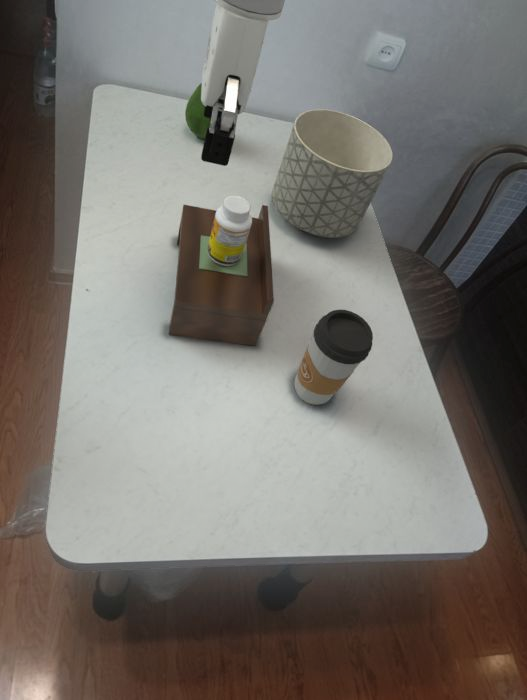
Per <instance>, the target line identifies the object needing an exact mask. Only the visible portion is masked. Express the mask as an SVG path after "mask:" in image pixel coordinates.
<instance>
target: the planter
mask: <svg viewBox="0 0 527 700" xmlns="http://www.w3.org/2000/svg"><path fill="white" fill-rule="evenodd" d="M393 154H394V153H393V150H392V147H391V145H390V143H389V142H388V140H387V139H386V138H385V136H384V135H383V134H382V133H380V132H379V131H378V130H377V129H376V128H375V127H373V126H372V125H370V123H369V124H368V123H367V122H365V121H364V120H361V119H359V118H357V117H356V116H353V115H351V114H347V113H345V112H342V111H337V110H333V109H325V108H320V109H319V108H317V109H316V108H315V109H309V110H306V111H304V112H301V113H300V114H299V115H298V116H297V117H296V118H295V120H294V123H293V126H292V128H291V132H290V134H289V138H288V141H287V144H286V147H285V150H284V152H283V156H282V158H281V159H282V160H281V162H280V165H279V167H278V172H277V174H276V177H275V180H274V184H273V187H272V190H271V199H272V203H273V205H274V207H275V209H276V211H277V212H278V213H279V215H281V217H282V218H283V219H284V220H286V221H287V222H288V223H290V224H291V225H292V226H294V227H295V228H298V230H301V231H303V232H305V233H308V234H310V235H314V236H317V237H322V238H343V237H346V236H349V235H351V234H353V233H354V232H355V231H356V230H357V229H358V228H359V227H360V224H361V223H362V221H363V219H364V217H365V214H366V213H367V211H368V209H369V207H370V205H371V203H372V201H373V198H375V195H376V193H377V191H378V189H379V187H380V185H381V184H382V181H383V180H384V178H385V175H386V173H387V172H388V170H389V168H390V166H391V164H392V162H393V157H394V155H393Z"/></svg>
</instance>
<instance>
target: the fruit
mask: <svg viewBox="0 0 527 700" xmlns="http://www.w3.org/2000/svg"><path fill="white" fill-rule="evenodd" d="M201 88H202V82H201V83H199V84H198V85H197V87H196V88H195V90H194V91H193V92H192V94H191V95H190V96H189V99H188V101H187V104H186V107H185V112H184V114H185V115H184V116H185V122H186V125H187V127H188V129H189V130H190V132H191V133H192V134H194V135H195V136H196V137H197V138H200V139H203V140H205V136H206V131H207V127H208V128H210V124H211V118H207V117H205V116H204V109H205V106H204V105H203V103H202V101H201Z"/></svg>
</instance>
